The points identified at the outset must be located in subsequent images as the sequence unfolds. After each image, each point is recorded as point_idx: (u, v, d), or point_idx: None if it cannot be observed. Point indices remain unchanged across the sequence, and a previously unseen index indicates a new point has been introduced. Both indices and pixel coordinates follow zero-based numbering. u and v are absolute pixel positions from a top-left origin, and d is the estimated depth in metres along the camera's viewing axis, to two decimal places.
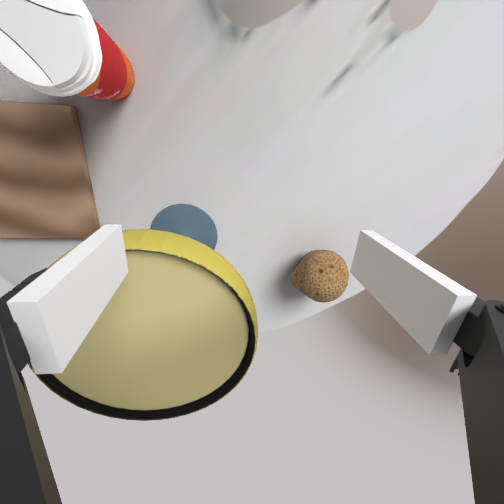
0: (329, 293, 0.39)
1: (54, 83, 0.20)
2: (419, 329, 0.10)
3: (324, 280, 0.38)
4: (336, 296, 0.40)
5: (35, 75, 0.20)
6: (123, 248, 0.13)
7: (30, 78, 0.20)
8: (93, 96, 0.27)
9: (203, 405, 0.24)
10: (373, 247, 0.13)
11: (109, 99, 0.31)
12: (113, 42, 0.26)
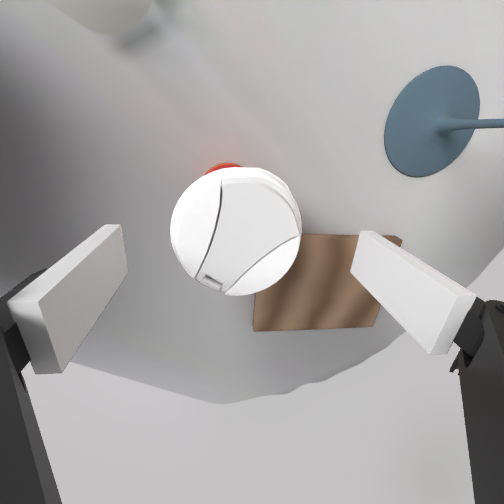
0: None
1: (296, 234, 0.15)
2: (419, 329, 0.10)
3: None
4: None
5: (287, 253, 0.15)
6: (123, 248, 0.13)
7: (290, 259, 0.16)
8: None
9: None
10: (373, 246, 0.13)
11: None
12: (211, 170, 0.21)
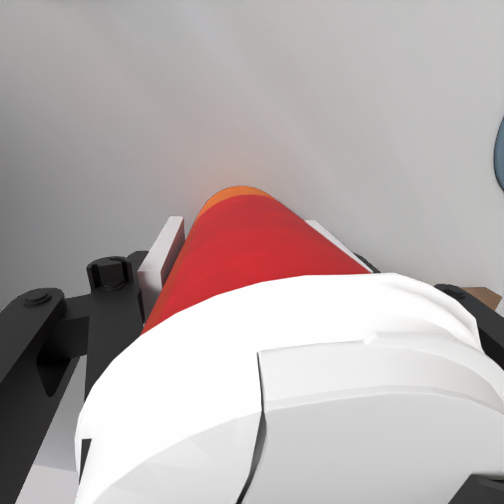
0: None
1: None
2: None
3: None
4: None
5: None
6: (183, 237, 0.15)
7: None
8: None
9: None
10: None
11: None
12: (214, 212, 0.10)
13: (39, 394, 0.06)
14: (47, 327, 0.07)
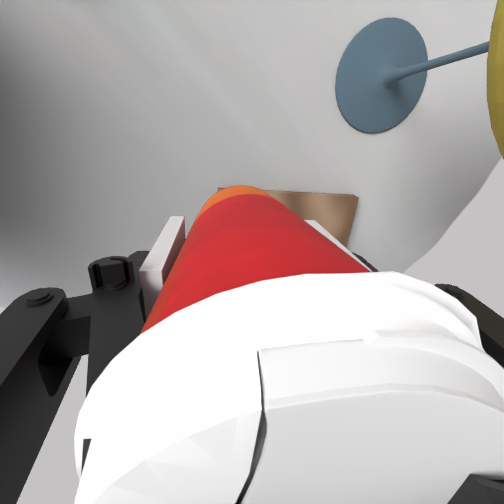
0: None
1: None
2: None
3: None
4: None
5: None
6: (184, 237, 0.15)
7: None
8: None
9: None
10: None
11: None
12: (214, 211, 0.10)
13: (41, 394, 0.06)
14: (49, 327, 0.07)
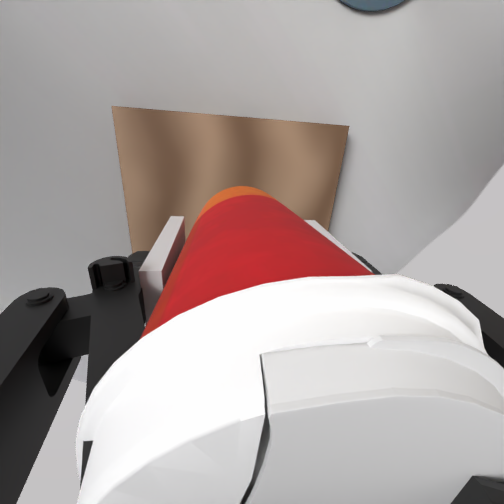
0: None
1: None
2: None
3: None
4: None
5: None
6: (184, 237, 0.15)
7: None
8: None
9: None
10: None
11: None
12: (215, 212, 0.10)
13: (41, 394, 0.06)
14: (49, 327, 0.07)
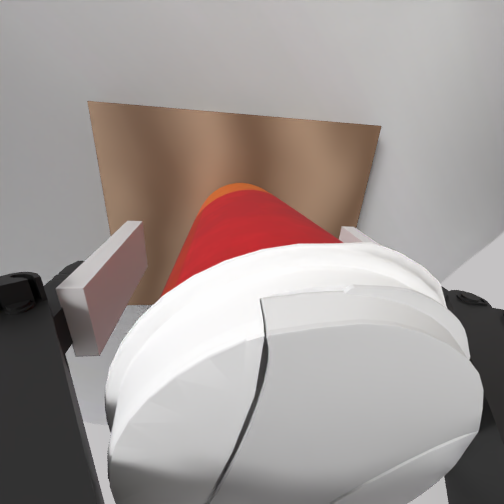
0: None
1: (468, 426, 0.05)
2: None
3: None
4: None
5: (432, 466, 0.06)
6: (144, 244, 0.14)
7: (434, 476, 0.06)
8: None
9: None
10: (352, 242, 0.14)
11: None
12: (216, 205, 0.11)
13: None
14: None
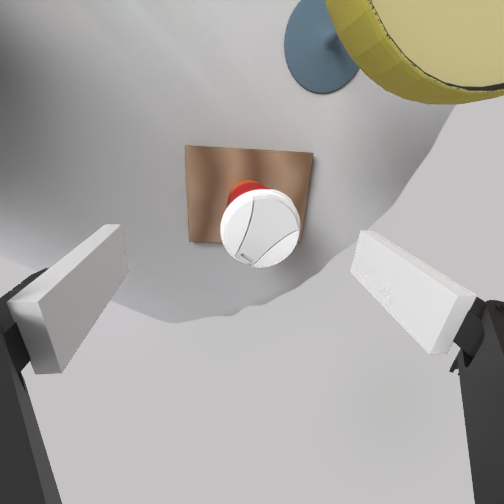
0: None
1: (296, 229, 0.25)
2: (419, 329, 0.10)
3: None
4: None
5: (291, 240, 0.25)
6: (123, 248, 0.13)
7: (293, 244, 0.25)
8: None
9: None
10: (373, 246, 0.13)
11: None
12: (240, 187, 0.31)
13: None
14: None
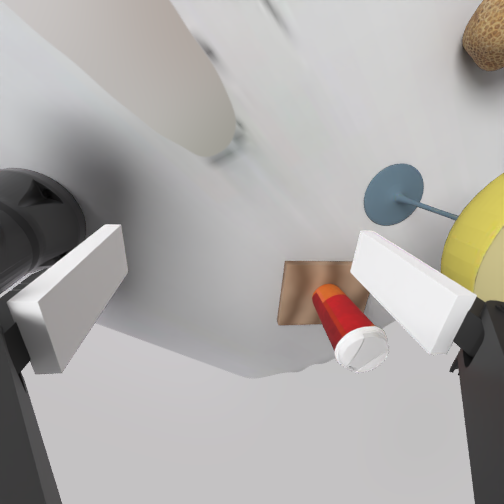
0: None
1: (387, 350, 0.37)
2: (419, 329, 0.10)
3: None
4: None
5: (383, 357, 0.38)
6: (123, 248, 0.13)
7: (383, 359, 0.38)
8: None
9: None
10: (373, 246, 0.13)
11: None
12: (333, 303, 0.43)
13: None
14: None
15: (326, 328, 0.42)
